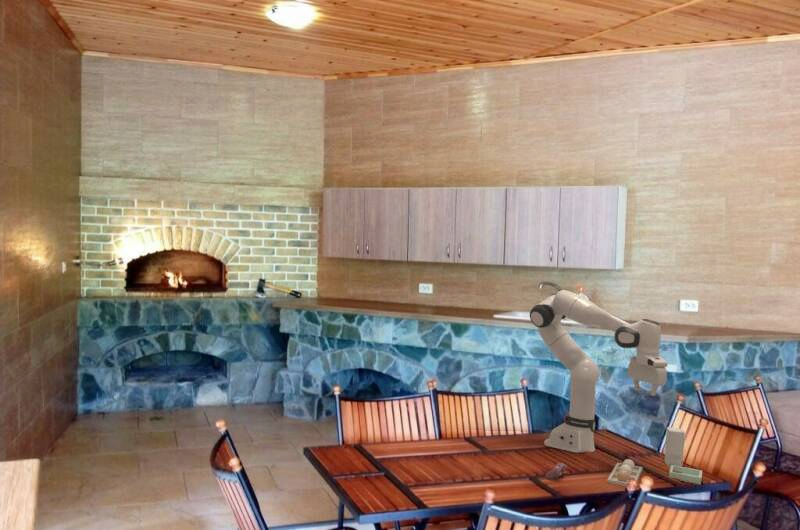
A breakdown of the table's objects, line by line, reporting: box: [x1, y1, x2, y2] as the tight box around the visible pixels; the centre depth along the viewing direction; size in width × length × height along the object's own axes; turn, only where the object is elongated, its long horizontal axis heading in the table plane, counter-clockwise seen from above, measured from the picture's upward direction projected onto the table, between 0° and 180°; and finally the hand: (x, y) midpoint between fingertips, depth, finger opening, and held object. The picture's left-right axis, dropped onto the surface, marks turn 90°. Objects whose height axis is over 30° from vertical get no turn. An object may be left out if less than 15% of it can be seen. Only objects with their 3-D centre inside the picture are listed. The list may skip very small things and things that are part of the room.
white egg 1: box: [622, 458, 636, 470], centre depth 306 cm, size 5×5×5 cm
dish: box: [668, 465, 703, 486], centre depth 305 cm, size 12×12×3 cm
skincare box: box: [663, 426, 686, 467], centre depth 324 cm, size 8×7×16 cm
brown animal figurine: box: [544, 462, 568, 480], centre depth 292 cm, size 10×5×7 cm, turn 148°
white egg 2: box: [620, 464, 632, 475], centre depth 298 cm, size 5×5×5 cm
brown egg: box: [617, 470, 629, 482], centre depth 289 cm, size 5×5×5 cm
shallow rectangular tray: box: [606, 462, 643, 488], centre depth 298 cm, size 10×28×2 cm, turn 156°
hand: (644, 392), depth 308 cm, fingers open, 8 cm apart
